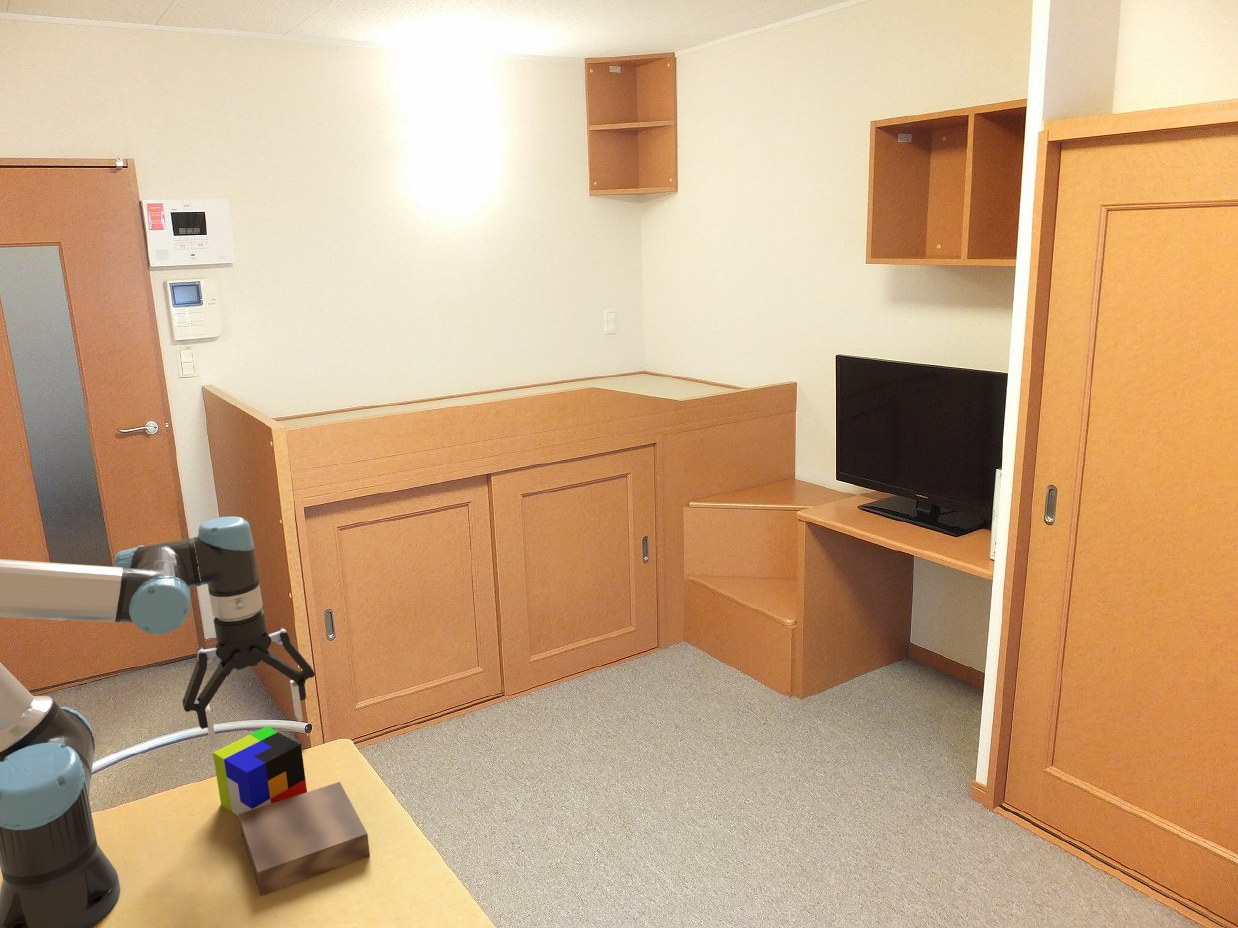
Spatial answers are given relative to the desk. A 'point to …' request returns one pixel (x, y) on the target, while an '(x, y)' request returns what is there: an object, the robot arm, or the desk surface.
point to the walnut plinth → (302, 837)
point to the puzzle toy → (259, 771)
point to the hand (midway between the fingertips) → (257, 730)
